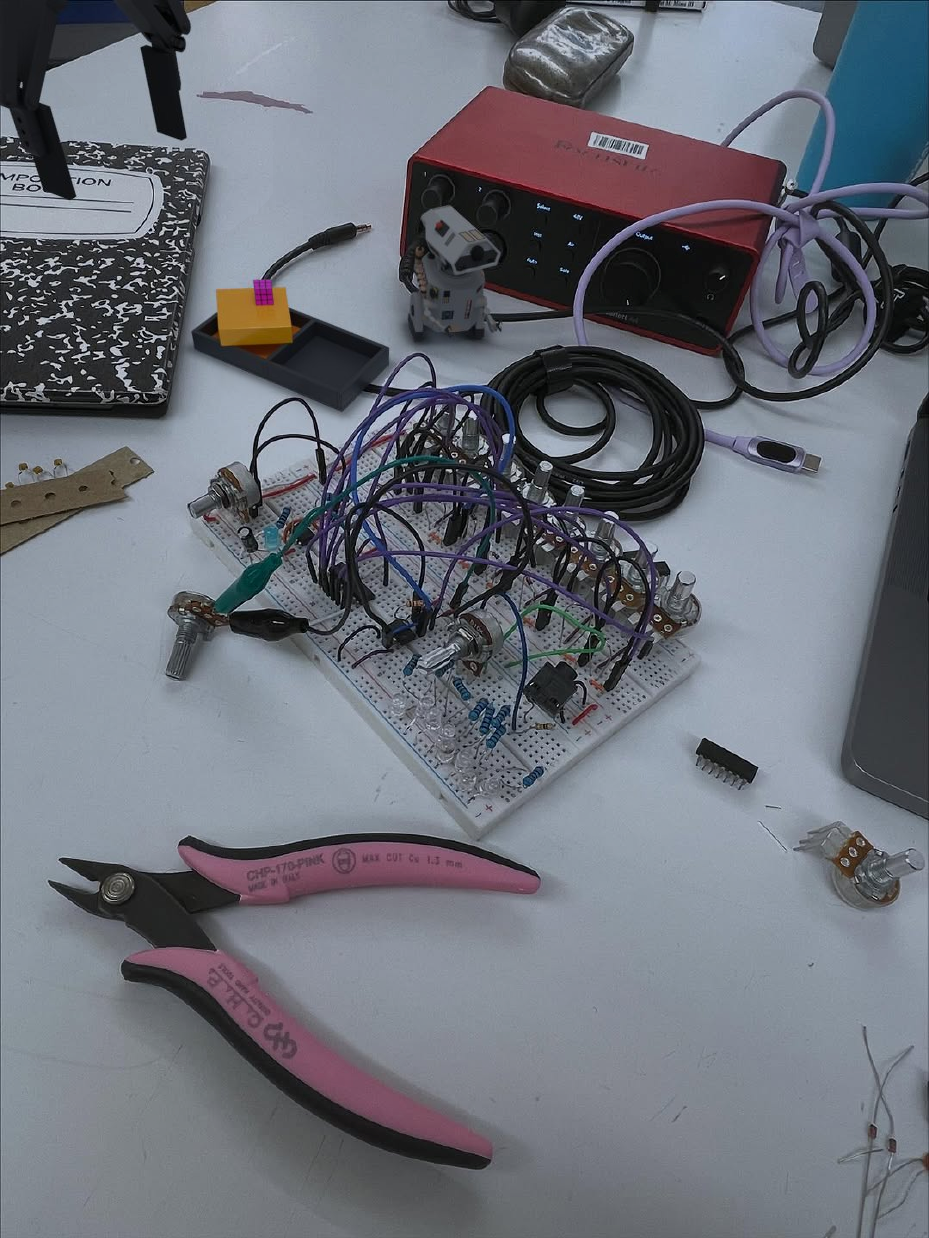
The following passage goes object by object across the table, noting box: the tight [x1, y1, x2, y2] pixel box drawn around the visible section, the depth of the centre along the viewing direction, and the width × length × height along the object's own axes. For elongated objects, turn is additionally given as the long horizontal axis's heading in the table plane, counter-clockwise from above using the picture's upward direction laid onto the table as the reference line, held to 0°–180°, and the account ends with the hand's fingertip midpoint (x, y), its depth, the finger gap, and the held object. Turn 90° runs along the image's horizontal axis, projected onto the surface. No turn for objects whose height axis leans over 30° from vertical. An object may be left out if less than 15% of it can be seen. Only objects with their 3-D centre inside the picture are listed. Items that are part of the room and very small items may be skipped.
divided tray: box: [190, 307, 390, 412], centre depth 92 cm, size 20×10×2 cm, turn 63°
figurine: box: [407, 204, 503, 342], centre depth 92 cm, size 9×12×15 cm
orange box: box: [215, 278, 293, 346], centre depth 91 cm, size 8×8×4 cm
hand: (119, 163), depth 67 cm, fingers open, 13 cm apart
